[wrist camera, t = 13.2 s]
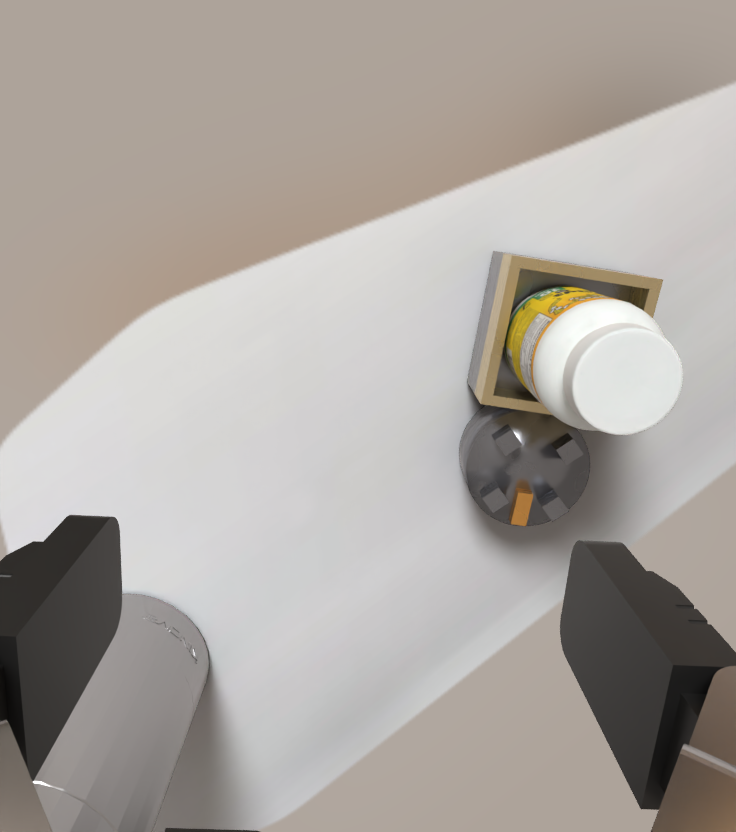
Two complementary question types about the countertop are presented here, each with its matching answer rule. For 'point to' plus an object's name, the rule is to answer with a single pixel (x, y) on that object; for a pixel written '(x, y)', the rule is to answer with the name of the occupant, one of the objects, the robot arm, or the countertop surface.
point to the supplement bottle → (593, 360)
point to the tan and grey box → (529, 398)
